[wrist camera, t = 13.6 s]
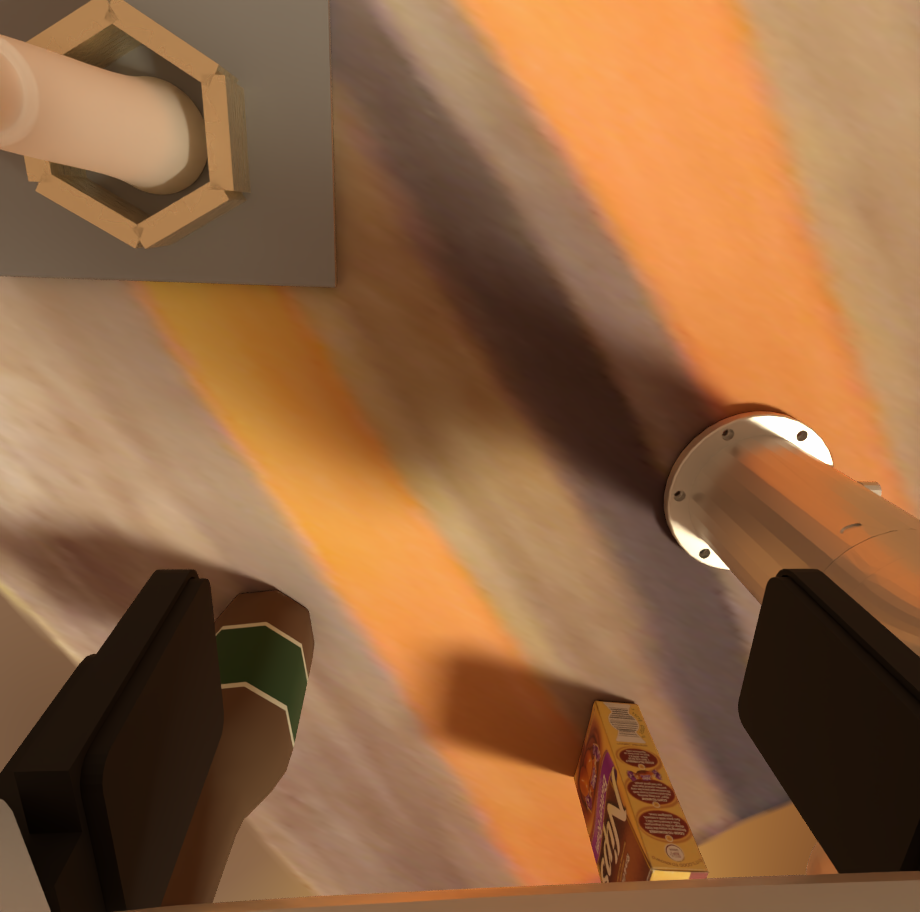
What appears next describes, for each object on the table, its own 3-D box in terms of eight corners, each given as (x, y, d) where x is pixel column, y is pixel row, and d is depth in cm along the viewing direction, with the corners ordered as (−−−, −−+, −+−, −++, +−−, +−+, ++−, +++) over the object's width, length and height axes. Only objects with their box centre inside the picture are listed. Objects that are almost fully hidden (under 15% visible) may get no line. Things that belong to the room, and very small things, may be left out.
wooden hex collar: (239, 23, 35) (219, 1, 32) (254, 248, 39) (238, 252, 36) (38, 9, 34) (-7, -15, 31) (75, 241, 39) (39, 244, 35)
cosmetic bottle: (231, 141, 37) (16, 57, 17) (164, 217, 39) (-114, 226, 18) (144, 50, 36) (-216, -167, 15) (76, 133, 37) (-346, 37, 16)
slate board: (329, -12, 36) (327, -18, 35) (336, 285, 42) (335, 287, 41) (-55, -40, 34) (-68, -47, 33) (7, 274, 40) (-3, 276, 39)
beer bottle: (194, 612, 49) (16, 947, 27) (283, 568, 49) (177, 876, 26) (251, 684, 52) (132, 1043, 30) (336, 644, 51) (281, 981, 29)
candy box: (589, 698, 55) (652, 868, 41) (637, 701, 56) (717, 870, 41) (568, 778, 58) (620, 962, 44) (614, 780, 59) (681, 963, 44)
